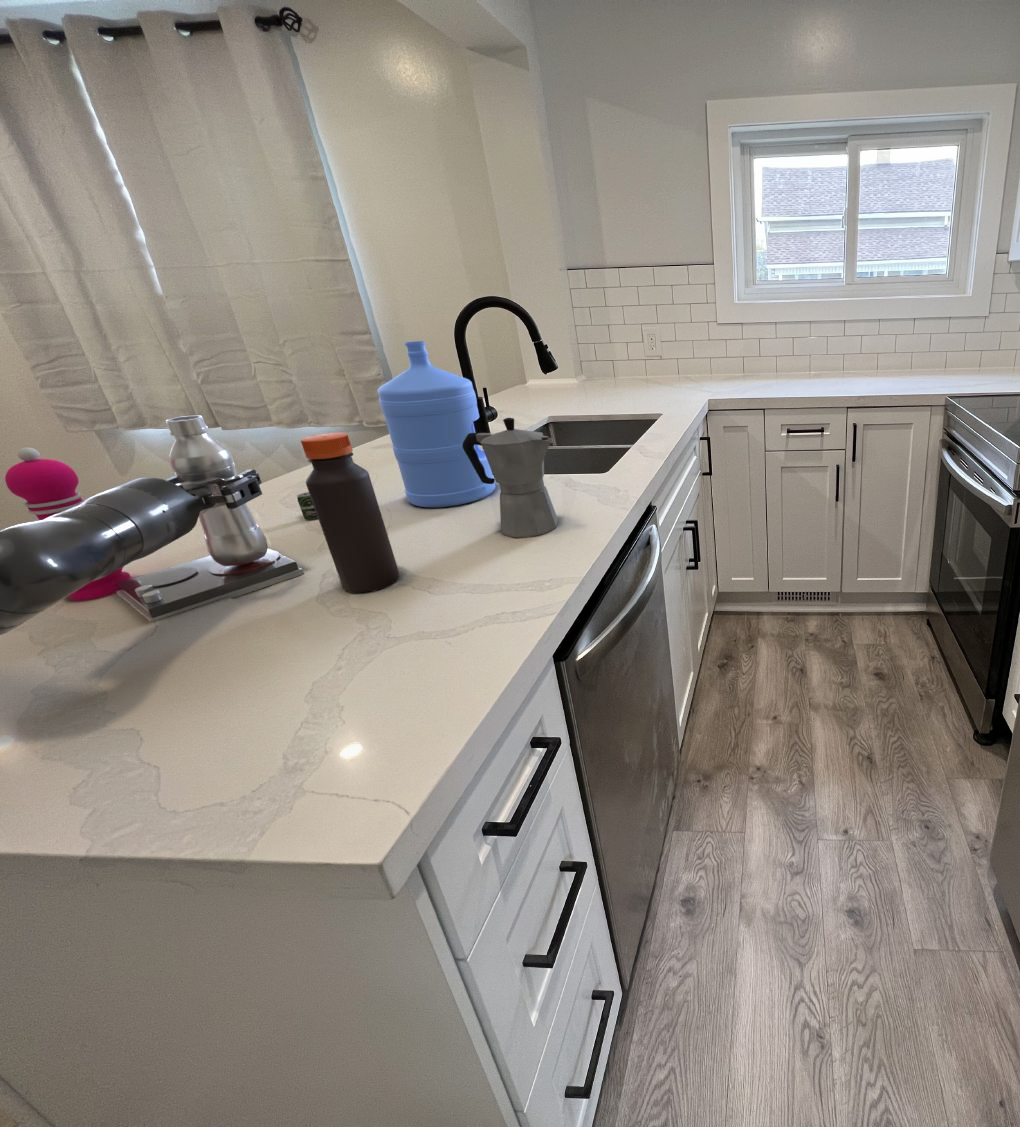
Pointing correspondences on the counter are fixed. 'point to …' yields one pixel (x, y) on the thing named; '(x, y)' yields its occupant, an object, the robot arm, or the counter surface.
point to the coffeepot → (516, 478)
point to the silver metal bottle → (204, 458)
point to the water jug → (433, 433)
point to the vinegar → (349, 514)
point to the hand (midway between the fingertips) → (220, 479)
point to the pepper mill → (55, 505)
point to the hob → (202, 583)
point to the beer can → (307, 506)
